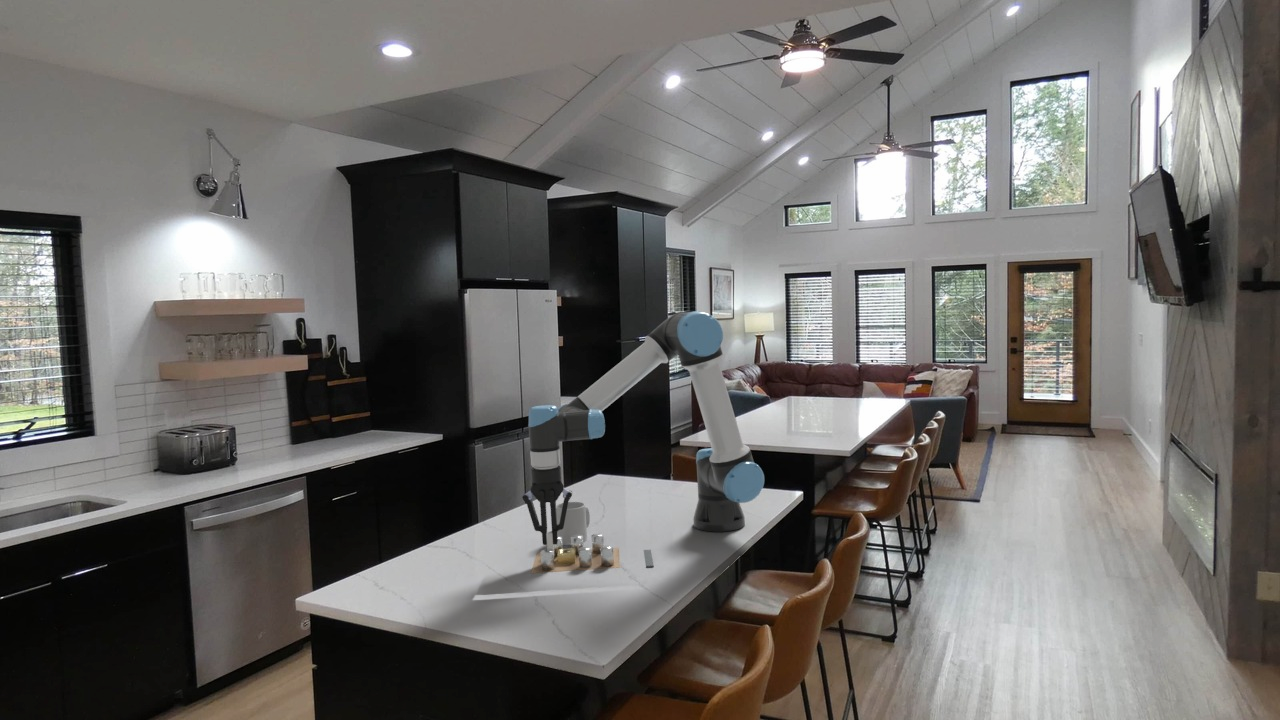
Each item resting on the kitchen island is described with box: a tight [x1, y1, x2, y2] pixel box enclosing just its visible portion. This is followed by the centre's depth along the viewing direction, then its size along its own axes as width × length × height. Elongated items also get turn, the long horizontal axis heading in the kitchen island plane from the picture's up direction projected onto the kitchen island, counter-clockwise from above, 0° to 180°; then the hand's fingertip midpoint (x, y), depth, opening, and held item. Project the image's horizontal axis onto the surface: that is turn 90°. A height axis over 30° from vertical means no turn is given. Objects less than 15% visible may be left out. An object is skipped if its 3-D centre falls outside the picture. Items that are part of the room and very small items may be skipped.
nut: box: [557, 548, 576, 564], centre depth 194 cm, size 4×4×3 cm
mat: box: [643, 549, 655, 568], centre depth 195 cm, size 8×13×1 cm, turn 2°
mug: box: [556, 501, 591, 546], centre depth 213 cm, size 12×8×11 cm
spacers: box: [540, 533, 614, 571], centre depth 195 cm, size 18×14×4 cm
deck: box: [530, 547, 621, 574], centre depth 195 cm, size 22×16×1 cm
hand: (551, 556), depth 194 cm, fingers closed
